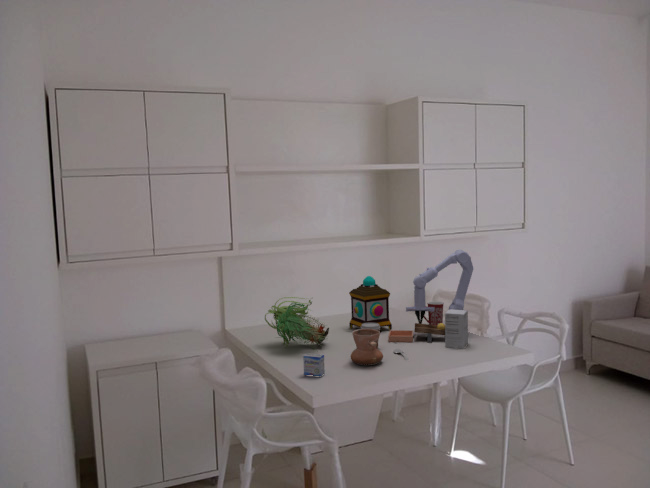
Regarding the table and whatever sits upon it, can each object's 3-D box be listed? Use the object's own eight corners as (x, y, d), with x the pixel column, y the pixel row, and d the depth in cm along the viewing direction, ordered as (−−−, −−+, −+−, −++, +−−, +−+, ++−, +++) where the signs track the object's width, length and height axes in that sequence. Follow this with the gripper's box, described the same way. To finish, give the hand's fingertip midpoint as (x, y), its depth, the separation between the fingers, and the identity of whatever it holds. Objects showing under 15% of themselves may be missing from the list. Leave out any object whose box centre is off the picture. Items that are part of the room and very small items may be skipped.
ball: (444, 330, 286) (445, 322, 285) (445, 332, 282) (445, 324, 281) (436, 329, 286) (437, 321, 286) (437, 331, 283) (437, 323, 282)
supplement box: (449, 342, 279) (449, 308, 277) (468, 343, 275) (468, 310, 273) (445, 347, 270) (444, 312, 269) (464, 349, 266) (463, 314, 265)
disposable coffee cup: (367, 345, 279) (367, 321, 278) (384, 347, 273) (383, 323, 272) (357, 350, 271) (356, 325, 270) (374, 352, 265) (373, 327, 264)
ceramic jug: (390, 366, 244) (389, 334, 243) (359, 370, 240) (358, 337, 238) (373, 355, 261) (372, 325, 260) (344, 359, 256) (343, 328, 255)
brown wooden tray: (445, 329, 294) (446, 323, 294) (446, 336, 279) (447, 330, 279) (414, 326, 297) (415, 320, 297) (414, 333, 282) (414, 327, 281)
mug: (440, 324, 317) (440, 300, 316) (446, 327, 308) (446, 303, 307) (419, 325, 315) (418, 302, 314) (424, 329, 306) (423, 305, 305)
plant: (326, 344, 257) (258, 310, 261) (311, 378, 278) (249, 346, 283) (349, 300, 279) (287, 269, 283) (334, 334, 300) (276, 305, 304)
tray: (413, 336, 293) (413, 330, 293) (412, 342, 281) (412, 336, 281) (390, 335, 295) (389, 330, 295) (388, 342, 283) (388, 336, 283)
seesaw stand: (431, 336, 292) (431, 327, 291) (431, 342, 279) (431, 333, 279) (427, 336, 292) (427, 327, 292) (427, 342, 280) (427, 333, 279)
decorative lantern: (346, 328, 315) (344, 275, 313) (376, 323, 324) (374, 272, 322) (364, 335, 298) (362, 279, 295) (395, 330, 306) (394, 276, 304)
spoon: (399, 351, 268) (399, 347, 268) (416, 363, 248) (416, 359, 248) (391, 352, 267) (391, 348, 267) (407, 364, 247) (407, 360, 247)
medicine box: (303, 376, 235) (302, 356, 234) (307, 373, 239) (306, 353, 238) (321, 377, 232) (320, 357, 231) (325, 374, 236) (324, 354, 235)
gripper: (433, 297, 296) (434, 323, 297) (406, 297, 298) (406, 323, 299) (434, 300, 289) (434, 326, 290) (405, 300, 291) (406, 326, 293)
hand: (420, 324), depth 294 cm, fingers closed, pressing on brown wooden tray
